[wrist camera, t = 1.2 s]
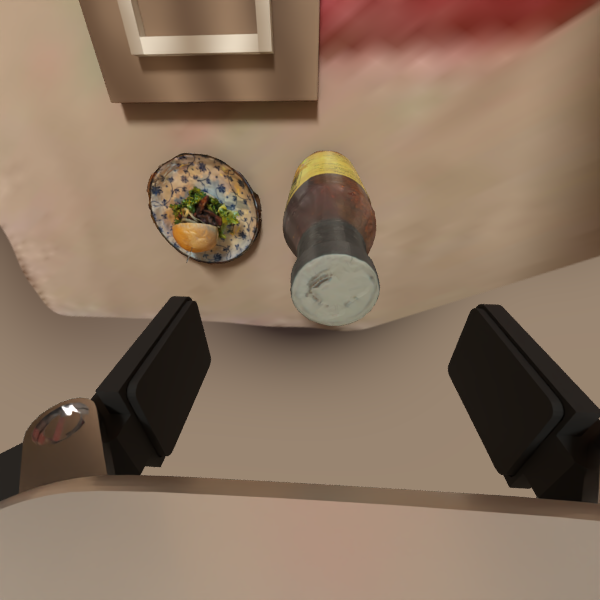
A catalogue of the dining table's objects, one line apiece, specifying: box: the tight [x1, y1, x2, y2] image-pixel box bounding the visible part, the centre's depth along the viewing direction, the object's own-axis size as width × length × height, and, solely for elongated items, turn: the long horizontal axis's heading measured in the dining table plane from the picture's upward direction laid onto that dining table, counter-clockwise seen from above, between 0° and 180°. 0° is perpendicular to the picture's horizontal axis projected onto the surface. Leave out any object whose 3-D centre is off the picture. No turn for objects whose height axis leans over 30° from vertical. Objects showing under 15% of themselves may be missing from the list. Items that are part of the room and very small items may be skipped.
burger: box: [147, 153, 262, 264], centre depth 28 cm, size 12×12×8 cm
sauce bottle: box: [283, 151, 380, 326], centre depth 20 cm, size 7×6×20 cm
